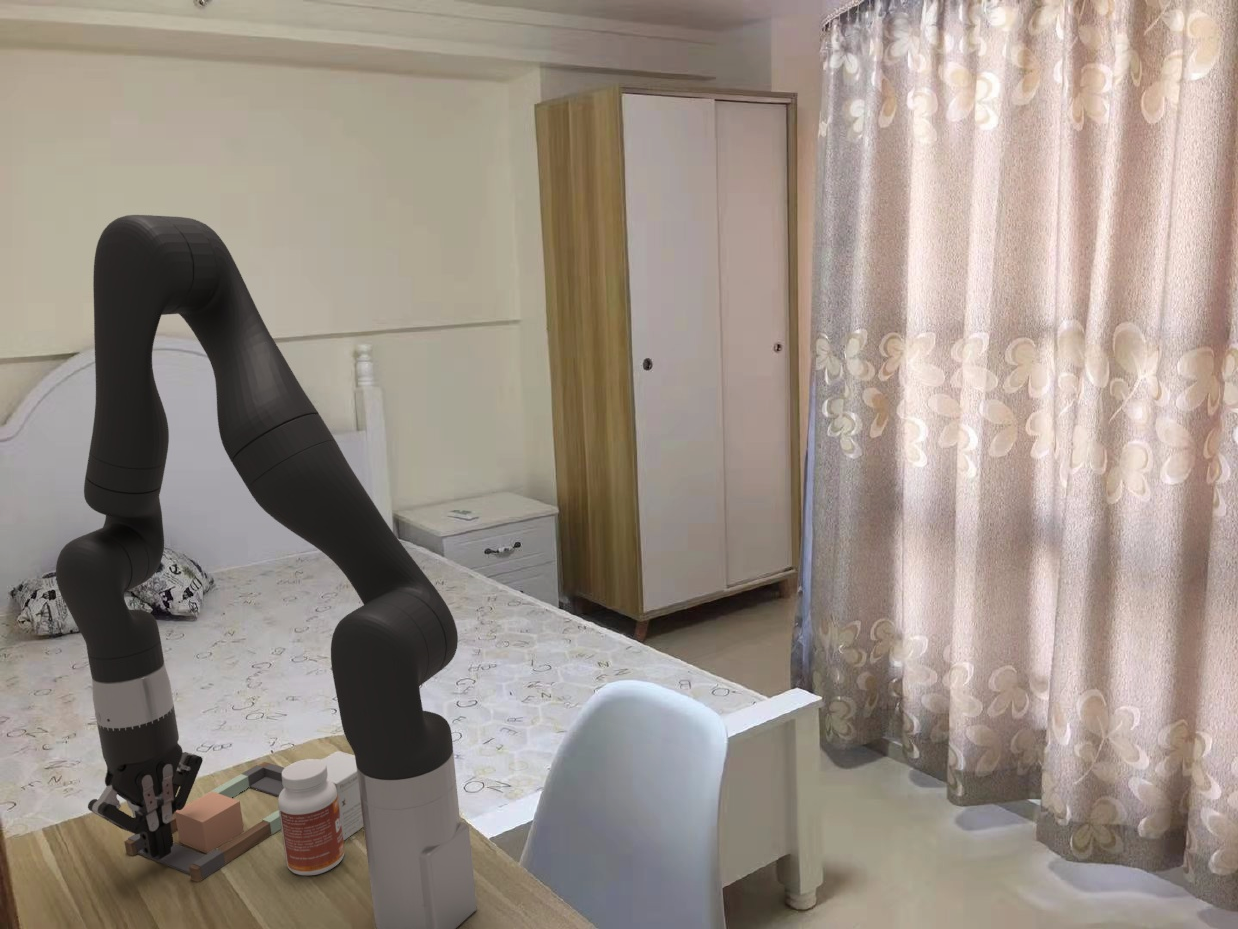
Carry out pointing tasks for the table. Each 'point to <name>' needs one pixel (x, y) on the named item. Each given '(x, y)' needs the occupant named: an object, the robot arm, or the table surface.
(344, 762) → the product box
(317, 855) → the pill bottle
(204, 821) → the terracotta block
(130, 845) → the frame
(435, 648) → the robot arm
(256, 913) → the table surface
